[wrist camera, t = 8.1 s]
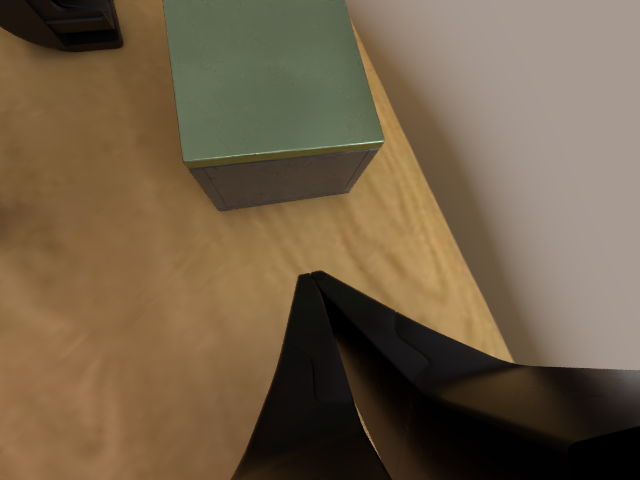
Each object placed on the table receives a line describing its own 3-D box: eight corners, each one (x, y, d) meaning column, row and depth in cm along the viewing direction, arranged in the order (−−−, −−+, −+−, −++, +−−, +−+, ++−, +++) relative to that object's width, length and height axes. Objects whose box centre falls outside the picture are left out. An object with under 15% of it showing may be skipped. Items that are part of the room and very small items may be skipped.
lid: (166, -2, 16) (159, -18, 15) (339, 2, 18) (342, -12, 17) (187, 169, 13) (182, 162, 13) (380, 148, 16) (385, 141, 15)
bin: (202, 97, 22) (167, 8, 15) (323, 90, 25) (341, 10, 18) (219, 211, 21) (188, 170, 14) (348, 192, 23) (380, 149, 16)
